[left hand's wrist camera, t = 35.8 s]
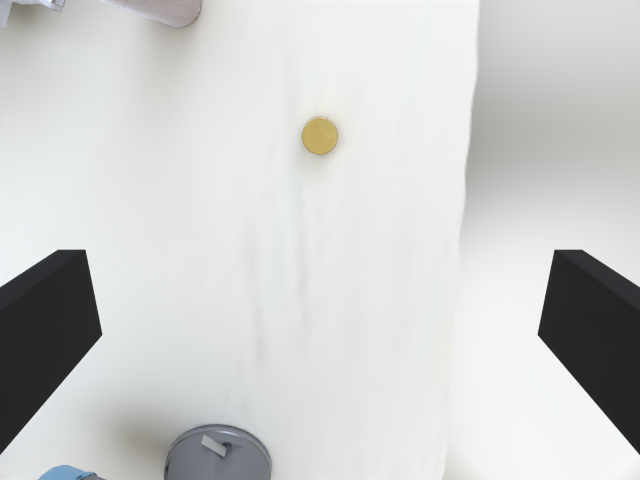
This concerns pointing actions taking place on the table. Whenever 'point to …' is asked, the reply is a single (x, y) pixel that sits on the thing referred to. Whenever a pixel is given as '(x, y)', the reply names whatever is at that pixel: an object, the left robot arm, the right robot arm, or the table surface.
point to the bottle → (162, 10)
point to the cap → (319, 135)
